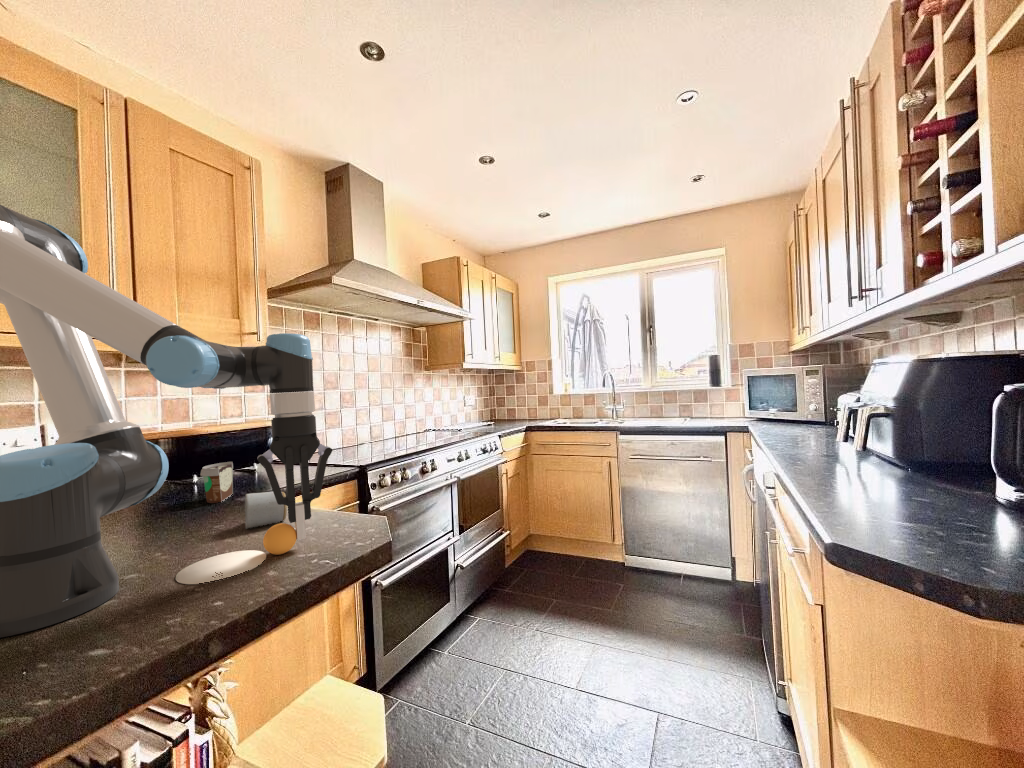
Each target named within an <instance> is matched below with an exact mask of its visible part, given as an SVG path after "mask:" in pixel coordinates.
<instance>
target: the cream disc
mask: <svg viewBox="0 0 1024 768" xmlns="http://www.w3.org/2000/svg"><path fill="white" fill-rule="evenodd" d="M266 559H267V554H266V552H264V551H262V550H257V549H256V550H253V549H251V550H250V549H249V550H237V551H231V552H226V553H221V554H217V555H214V556H210V557H207V558H204V559H201V560H199V561H196V562H194V563H191V564H190V565H188V566H186V567H184V568H182V569H181V570H180V571H178V572H177V573H176V575H175V581H176V582H177V583H179V584H184V585H200V584H199V583H203V584H205V583H204V582H209V583H211V582H210V581H214V580H219V579H221V578H222V577H223V578H226V577H231V576H234V575H237V574H240V573H242V574H244V573H243V572H245V571H247V572H249V571H252V570H254V569H255V568H257V567H258V565H259V566H260V565H261V564H263V563H264V562H265V561H266ZM264 560H265V561H264ZM263 561H264V562H263ZM262 562H263V563H262ZM248 570H249V571H248ZM215 572H216V573H218V574H220V575H218V574H216V573H215ZM220 572H221V573H223V574H221V573H220ZM245 573H246V572H245ZM216 575H217V576H216ZM221 575H223V576H221ZM240 575H241V574H240ZM212 576H214V577H216V578H214V577H212ZM219 576H220V577H219ZM237 576H238V575H237ZM234 577H235V576H234ZM213 578H214V579H213ZM223 578H222V579H223ZM231 578H232V577H231ZM223 580H224V579H223ZM219 581H220V580H219Z"/></svg>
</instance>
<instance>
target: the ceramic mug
mask: <svg viewBox="0 0 1024 768" xmlns="http://www.w3.org/2000/svg"><path fill="white" fill-rule="evenodd" d="M281 492H282V495H283V497H287V494H286V493H285V491H281ZM244 498H245V499H244V514H245V515H244V516H245V518H244V519H245V520H244V522H245V524H244V525H245V529H246V530H249V529H248V528H250V529H254V528H259V527H258V526H260V527H264V526H268V525H267V524H269V525H273V524H272V523H275V524H277V523H276V522H279V523H281V522H280V521H282V522H283V520H284V521H285V520H286V518H287V515H288V506H286V505H279V504H278V503H277V501H276V498H275V495H274V493H273V491H266V492H265V491H264V492H253V493H245V497H244ZM263 525H264V526H263ZM253 527H254V528H253Z"/></svg>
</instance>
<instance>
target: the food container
mask: <svg viewBox="0 0 1024 768" xmlns="http://www.w3.org/2000/svg"><path fill="white" fill-rule="evenodd" d="M233 469H234V463H233V461H227V462H226V461H225V462H219V463H218V462H217V463H214V464H208V465H205V466H203V467H202V469H201V470H200V474H199V475H200V477H202V478H203V483H204V484H203V485H204V492H205V497H206V498H205V500H206V503H207V504H208V503H209V504H219V503H218V502H221V503H223V502H225V501H226V500H227V499H229V498H230V497H232V496H233V495H234V488H233V487H234V484H233V483H234V482H233V481H234V479H233V478H234V476H233V474H234V473H233V472H234V470H233ZM232 494H233V495H232ZM231 495H232V496H231ZM228 497H229V498H228ZM225 499H226V500H225ZM222 501H223V502H222Z"/></svg>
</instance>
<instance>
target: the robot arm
mask: <svg viewBox="0 0 1024 768" xmlns="http://www.w3.org/2000/svg"><path fill="white" fill-rule="evenodd" d="M80 245H81V244H79V243H78V242H77V241H76V239H74V238H73V237H72V236H70V235H69V234H67V233H65V232H63V231H62V230H60V229H59V228H56V227H55V226H54V225H52V224H50V223H47V222H45V221H42V220H40V219H39V220H38V219H34V218H31V217H29V216H27V215H24V214H23V213H20V212H18V211H15V210H14V209H12V208H9V207H7V206H4V205H2V204H0V304H2V305H3V306H4V307H5V309H6V312H7V314H8V317H9V320H10V322H11V324H12V327H13V330H14V332H15V334H16V336H17V339H18V341H19V343H20V345H21V348H22V351H23V353H24V355H25V358H26V360H27V363H28V365H29V367H30V370H31V372H32V375H33V377H34V380H35V381H36V384H37V387H38V389H39V391H40V394H41V396H42V399H43V401H44V403H45V407H46V409H47V410H48V413H49V416H50V418H51V421H52V422H53V426H54V427H55V430H56V433H57V435H58V438H57V441H55V443H54V444H52V445H51V444H50V445H44V446H38V447H35V448H26V449H21V450H18V451H12V452H8V453H5V454H2V455H0V639H1V638H5V637H10V636H11V637H12V636H16V635H21V634H25V633H28V632H32V631H35V630H38V629H43V628H46V627H49V626H53V625H54V624H58V623H60V622H63V621H66V620H69V619H71V618H74V617H77V616H79V615H82V614H84V613H86V612H88V611H91V610H93V609H95V608H97V607H99V606H101V605H103V604H104V603H106V602H107V601H109V600H110V599H112V598H114V596H116V594H118V593H119V591H120V584H119V581H120V579H119V574H118V572H117V570H116V568H115V566H114V565H113V563H112V561H111V559H110V557H109V555H108V554H107V552H106V550H105V547H104V546H103V543H102V537H101V536H102V535H101V533H102V532H101V518H102V517H105V516H107V515H110V514H113V513H115V512H117V511H120V510H123V509H128V508H130V507H132V506H136V505H138V504H140V503H142V502H143V501H144V500H146V499H149V498H150V497H151V496H153V495H154V494H156V493H157V492H158V491H159V490H160V489H161V488H162V486H163V484H164V482H166V479H167V477H168V474H169V470H170V469H169V467H170V466H169V465H170V464H169V458H168V456H167V454H166V453H165V452H164V450H163V448H162V447H160V446H159V445H158V444H155V443H153V442H151V441H149V440H146V438H145V436H144V434H143V431H142V429H141V427H140V425H139V424H135V423H133V422H130V421H128V420H126V419H125V416H124V413H123V411H122V409H121V406H120V403H119V402H118V399H117V397H116V394H115V392H114V391H115V390H114V389H113V386H112V384H111V382H110V379H109V376H108V374H107V372H106V369H105V367H104V364H103V362H102V360H101V356H100V354H99V352H98V350H97V347H96V345H95V342H94V340H93V338H94V339H96V340H97V341H99V342H101V343H103V344H105V345H107V346H109V347H110V348H112V349H114V350H117V351H118V352H120V353H122V354H124V355H125V356H128V357H130V358H131V359H134V360H135V361H136V362H139V363H141V364H143V365H144V366H146V368H147V369H148V370H149V372H150V374H151V375H152V377H153V378H154V379H156V380H157V381H159V382H160V383H162V384H165V385H168V386H173V387H178V388H182V389H192V388H193V389H194V388H202V389H220V390H223V389H226V388H244V387H255V386H268V387H269V403H270V414H271V415H273V416H274V417H272V419H271V420H270V421H271V439H272V440H271V443H270V445H269V449H268V450H267V451H265V452H263V454H258V456H257V462H258V463H259V464H260V465H261V466H262V467H263V468H264V470H265V473H266V475H267V478H268V481H269V484H270V486H271V490H272V492H273V493H274V495H275V498H276V501H277V503H278V504H279V505H286V506H287V517H288V518H287V519H288V521H289V524H292V523H294V525H295V526H294V529H295V530H296V533H297V539H296V541H301V540H302V541H303V540H305V539H307V534H306V520H310V519H311V518H312V509H311V502H313V500H316V499H317V498H318V499H319V498H320V497H321V493H322V489H323V484H324V483H323V482H324V479H325V472H326V469H327V468H326V467H327V464H328V459H329V458H330V456H331V454H332V452H333V449H332V448H331V447H330V446H326V445H324V444H323V443H321V441H320V439H319V438H318V435H317V420H316V417H317V416H315V414H313V412H315V411H316V404H315V391H314V374H313V373H314V372H313V370H314V369H313V360H314V359H313V355H312V347H311V340H310V338H309V337H308V336H306V335H304V334H302V333H301V334H300V333H283V332H282V333H273V334H272V333H271V334H270V335H268V336H267V337H266V342H265V344H264V345H261V346H260V345H258V346H230V345H227V344H221V343H216V342H212V341H208V340H205V339H203V338H202V337H199V336H198V335H196V334H194V333H192V332H191V331H189V330H187V329H185V328H182V327H181V326H180V325H178V324H176V323H174V322H173V321H171V320H169V319H168V318H166V317H164V316H162V315H160V314H158V313H156V312H155V311H153V310H151V309H149V308H148V307H145V306H144V305H142V304H140V303H139V302H137V301H135V300H134V299H131V298H130V297H128V296H125V294H122V293H121V292H119V291H117V290H116V289H113V288H111V287H110V286H108V285H106V284H104V283H102V282H100V281H99V280H97V279H95V278H94V277H92V276H90V275H88V274H87V273H88V269H89V262H88V258H87V254H86V253H85V250H84V249H83V248H82V247H81V246H80ZM317 450H318V451H317ZM316 451H317V455H318V456H319V457H318V459H317V464H316V465H317V466H316V469H315V470H316V471H315V475H314V482H313V484H312V485H313V486H312V490H311V489H310V487H311V486H310V470H309V467H310V465H309V464H310V463H309V461H310V460H311V459H312V457H313V455H314V454H315V453H316ZM273 455H274V456H275V457H276V458H277V459H278V460H279V462H281V463H282V464H284V468H285V469H284V471H285V487H286V488H285V489H286V491H285V492H286V497H283V495H282V492H283V491H282V489H281V487H280V485H279V480H278V478H277V476H276V473H275V470H274V467H273V465H272V463H273V461H274V458H273ZM295 464H299V472H300V489H301V501H299V502H298V501H297V502H296V491H295V490H296V488H295V474H294V472H295V471H294V469H295V467H294V465H295Z"/></svg>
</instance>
